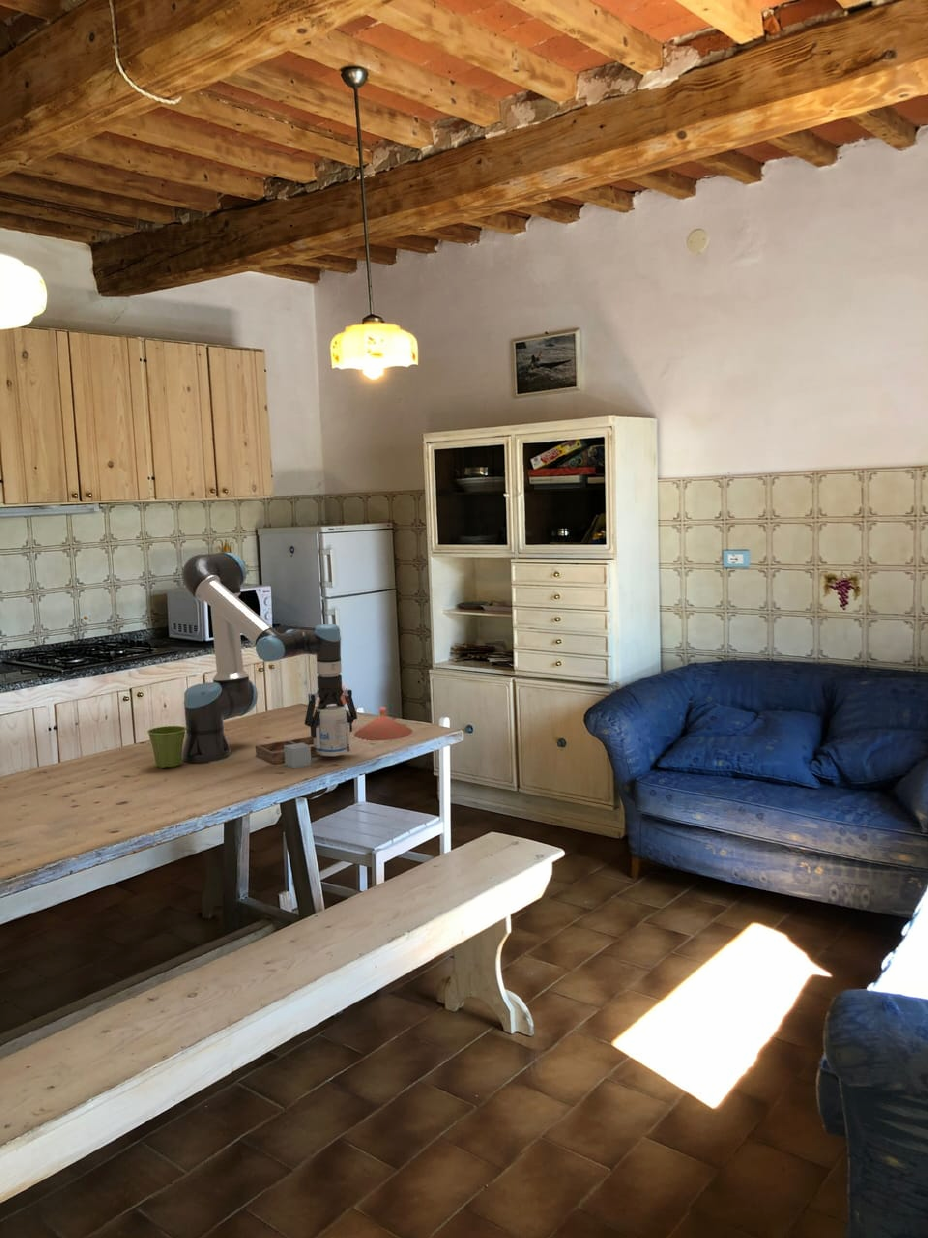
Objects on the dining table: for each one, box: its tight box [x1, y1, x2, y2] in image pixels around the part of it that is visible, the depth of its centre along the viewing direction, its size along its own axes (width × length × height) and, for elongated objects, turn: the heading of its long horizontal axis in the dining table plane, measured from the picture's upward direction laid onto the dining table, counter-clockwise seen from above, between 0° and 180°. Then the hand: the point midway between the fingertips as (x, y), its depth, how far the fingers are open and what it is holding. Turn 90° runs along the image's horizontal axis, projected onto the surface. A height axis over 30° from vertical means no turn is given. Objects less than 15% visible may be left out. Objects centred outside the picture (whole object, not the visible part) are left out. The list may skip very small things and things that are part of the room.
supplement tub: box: [315, 704, 348, 757], centre depth 312 cm, size 10×10×15 cm
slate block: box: [284, 742, 312, 769], centre depth 306 cm, size 6×6×6 cm
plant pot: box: [146, 725, 186, 769], centre depth 310 cm, size 12×12×11 cm
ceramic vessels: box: [317, 684, 414, 741], centre depth 346 cm, size 35×21×19 cm, turn 68°
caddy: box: [255, 735, 350, 765], centre depth 320 cm, size 26×14×3 cm, turn 123°
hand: (332, 745), depth 313 cm, fingers closed on supplement tub, 10 cm apart
